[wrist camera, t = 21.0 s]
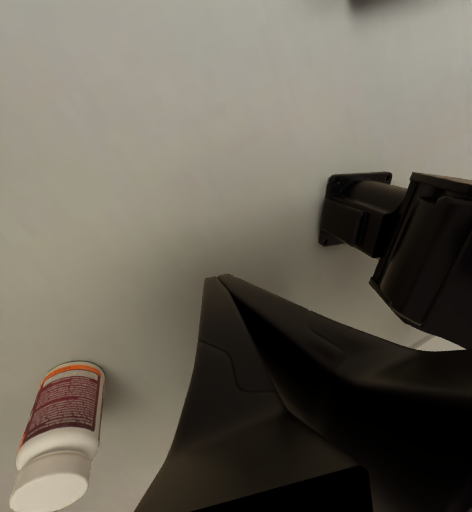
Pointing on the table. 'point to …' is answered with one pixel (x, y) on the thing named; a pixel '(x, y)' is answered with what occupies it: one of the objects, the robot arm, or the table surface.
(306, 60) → the table surface
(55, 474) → the pill bottle
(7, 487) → the table surface
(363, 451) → the robot arm
